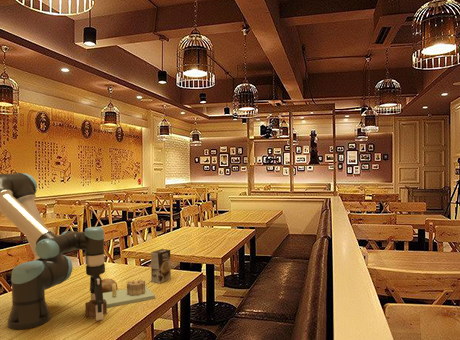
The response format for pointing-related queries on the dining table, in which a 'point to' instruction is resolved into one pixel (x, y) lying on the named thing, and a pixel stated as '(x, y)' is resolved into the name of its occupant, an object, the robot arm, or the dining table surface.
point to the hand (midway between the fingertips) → (96, 314)
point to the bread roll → (107, 285)
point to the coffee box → (160, 266)
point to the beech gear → (136, 288)
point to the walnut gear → (94, 308)
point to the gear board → (125, 296)
